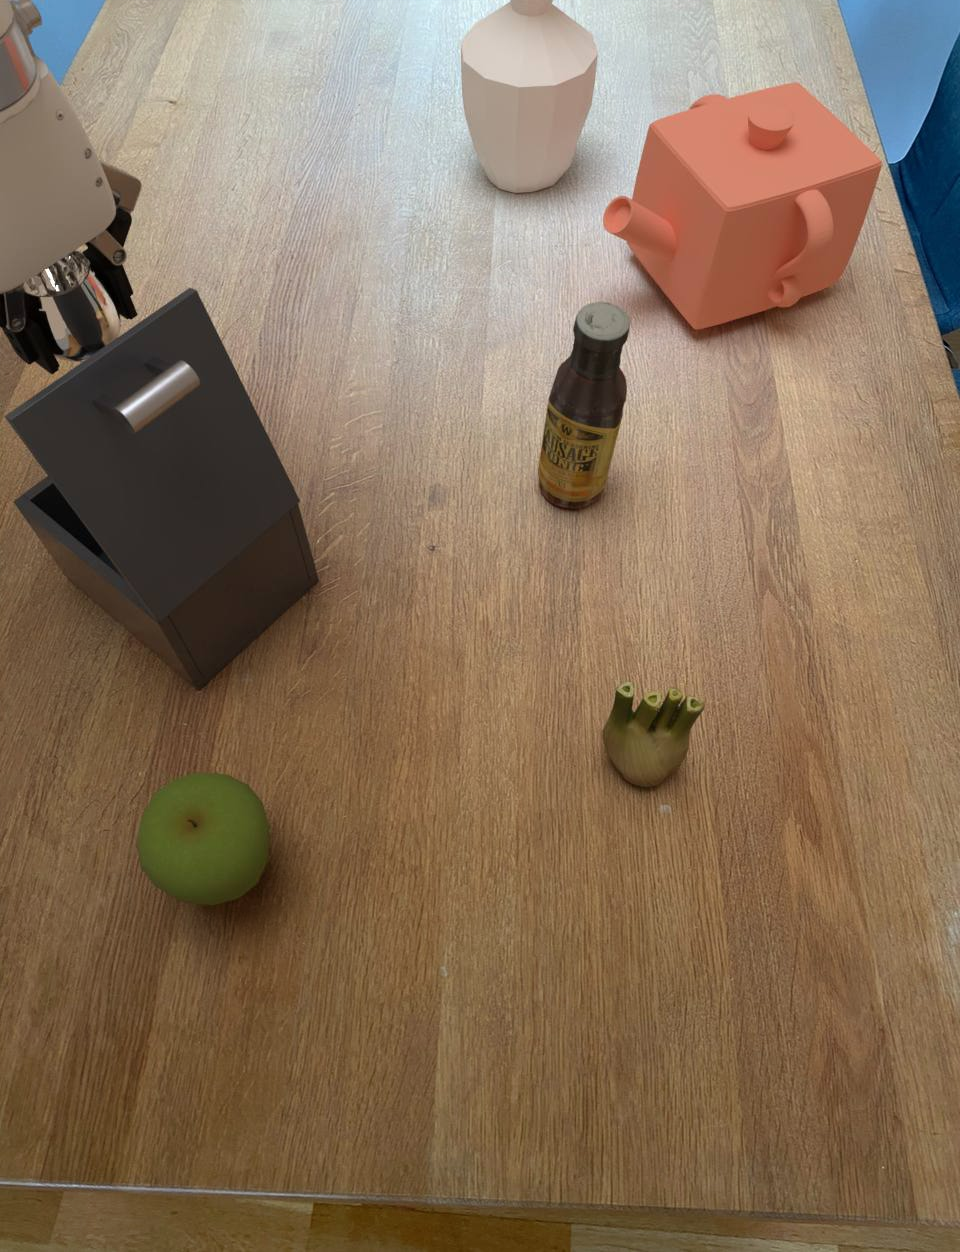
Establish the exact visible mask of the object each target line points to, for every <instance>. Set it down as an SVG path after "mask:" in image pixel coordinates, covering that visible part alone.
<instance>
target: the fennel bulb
mask: <svg viewBox="0 0 960 1252" xmlns="http://www.w3.org/2000/svg"><path fill="white" fill-rule="evenodd" d="M634 696H635V683H633V682H632V681H625V682H622V683H620V684H618V686H617V687H616V689H615V694H614V701H613V703H612V708H611V711H610V713H609V717H608V718H607V720H606V722H605V724H604V727H603V730H602V742H603V743H602V744H603V745H604V747H605V752H606V753H607V755H608V757H609V760H610V761H611V763H612V764H613V765H614V767H615V768H616V770H617V771H618V773H619V774H620V775H621V776H622V777H623V779H624V780H625V781H626V782H628V783H630V784H632V785H634V786H637V787H643V788H652V787H656V786H659V785H660V784H661V783H663V782H664V780H665V779H666V778H667V776H669V775H672V774H673V773H675V772H676V771H677V769H679V768H680V767H681V766H682V764H683V763H684V761H685V759H686V757H687V755H688V751H689V749H690V737H691V730H692V728H693V726H694V724H695V722H696V721H697V719H698V718H699V716H701V714H702V713H703V712H704V710H705V702H704V701H703V700H702V699H701V698H699V697H696V696H694V695H690V694H687V695H686V696H685V698H683V697H684V694H683V692H682V691H681V690H680V689H678V688H676V687H673V686H671V687H669V688H668V691H667V693H666V696H665V698H664V699H663V692H661V691H660V690H659V691H658V690H652V691H650V692H647V693H646V694H644V695H643V696H642V699H641V700H640V702H639V704H638V705H637V708H636V709H635V711H634V710H633V705H634V704H633V703H634ZM662 699H663V701H662ZM682 699H683V700H682Z"/></svg>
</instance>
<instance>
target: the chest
mask: <svg viewBox="0 0 960 1252" xmlns="http://www.w3.org/2000/svg"><path fill="white" fill-rule="evenodd" d="M13 503H14V505H15V506H16V508H17V509H18V510H19V512H20V514H21V515H22V516H23V518H24V519H25V520H26V522H27V524H28V525H29V526H30V528H31V529H32V530H33V533H34V534H35V535H36V537H37V538H38V539H39V540H40V542H41V543H42V545H43V547H44V548H45V549H46V551H47V552H48V553H49V555H50V557H51V558H52V559H53V561H54V562H55V564H56V565H57V567H58V568H59V569H60V571H61V572H62V574H63V575H64V576H65V578H66V579H67V581H69V582H70V583H71V584H72V585H74V586H75V587H76V588H77V589H78V590H79V591H81V592H82V593H83V594H84V595H86V597H88V598H89V599H90V600H91V601H92V602H94V603H95V604H96V605H97V606H98V607H99V608H100V609H102V610H103V611H104V612H105V613H106V614H108V616H110V617H111V618H112V619H113V620H114V621H115V622H117V623H118V624H119V625H120V626H122V627H123V628H124V629H125V630H126V631H127V632H128V633H130V635H132V636H133V637H134V638H136V639H137V640H138V641H139V642H140V643H141V644H142V645H143V646H145V647H146V648H147V649H148V650H149V651H151V652H152V653H153V654H154V655H155V656H156V657H158V658H159V659H160V660H161V661H162V662H163V663H164V664H166V665H167V666H168V667H169V668H170V669H172V671H174V672H175V673H176V674H177V675H179V676H180V677H181V678H182V679H183V680H185V681H186V682H187V683H188V684H189V685H190V686H191V687H193V688H194V689H195V690H196V691H197V692H198V691H200V690H202V688H204V687H205V686H206V685H207V684H208V683H209V682H210V681H211V680H212V679H214V678H215V677H216V675H218V674H219V673H220V672H221V671H222V670H223V669H224V668H226V667H227V665H229V664H230V663H231V662H232V661H233V660H234V659H235V658H236V657H238V655H240V653H242V652H244V650H245V649H246V648H247V647H248V646H249V645H250V644H251V643H252V642H254V641H255V640H256V639H257V638H258V637H259V636H260V635H262V634H263V632H265V631H266V630H267V629H268V628H269V627H270V626H271V625H272V624H273V623H274V622H275V621H277V620H278V619H279V618H280V617H281V616H282V615H283V614H284V613H286V612H287V611H288V610H289V609H290V608H291V607H292V606H293V605H295V603H296V602H297V601H298V600H300V599H301V598H302V597H303V596H305V594H306V593H307V592H308V591H310V590H311V589H312V587H314V586H315V585H316V584H317V583H318V582H320V579H319V576H318V575H319V574H318V571H317V568H316V565H315V561H314V556H313V553H312V549H311V546H310V541H309V538H308V535H307V531H306V527H305V524H304V520H303V516H302V513H301V509H300V504H299V503H297V504H296V505H295V506H294V507H293V508H292V509H291V510H289V511H288V512H287V513H286V514H285V515H284V516H282V517H281V518H280V519H279V520H278V521H277V522H275V523H274V524H273V525H272V526H271V527H270V528H268V529H267V530H266V531H265V532H264V533H263V534H261V535H260V536H259V537H258V538H257V539H256V540H255V541H253V542H252V543H251V544H250V545H249V546H248V547H246V548H245V549H244V550H243V551H242V552H241V553H239V554H238V555H237V556H236V557H235V558H234V559H232V560H231V561H230V562H229V563H228V564H227V565H225V566H224V567H223V568H222V569H221V570H220V571H219V572H217V573H216V574H215V575H214V576H213V577H212V578H210V579H209V580H208V581H207V582H206V583H205V584H203V585H202V586H201V587H200V588H199V589H198V590H196V591H195V592H194V593H193V594H192V595H191V596H189V597H188V598H187V599H186V600H185V601H184V602H183V603H181V604H180V605H179V606H178V607H177V608H176V609H174V610H173V611H172V612H171V613H170V614H169V615H167V616H166V617H165V618H164V619H163V620H162V621H160V622H158V621H157V620H155V619H154V618H153V617H152V615H151V614H150V613H149V611H148V610H147V609H146V607H145V606H144V605H143V603H142V602H141V601H140V599H139V598H138V597H137V595H136V594H135V593H134V591H133V590H132V588H131V587H130V586H129V584H128V583H127V582H126V580H125V579H124V578H123V576H122V575H121V574H120V572H119V571H118V570H117V568H116V567H115V566H114V564H113V563H112V561H111V560H110V559H109V557H108V556H107V555H106V553H105V552H104V551H103V549H102V548H101V547H100V545H99V544H98V543H97V541H96V540H95V539H94V537H93V536H92V534H91V533H90V532H89V530H88V529H87V528H86V526H85V525H84V524H83V522H82V521H81V520H80V518H79V517H78V516H77V514H76V513H75V512H74V510H73V509H72V507H71V506H70V505H69V503H68V502H67V501H66V499H65V498H64V497H63V495H62V494H61V493H60V491H59V490H58V489H57V487H56V486H55V485H54V483H53V482H52V480H51V479H50V478H49V476H48V475H47V476H45V477H44V478H43V479H41V480H40V481H39V482H37V483H36V484H34V485H33V486H32V487H30V488H29V489H27V490H26V491H25V492H24V493H23V494H21V495H20V496H18V497H17V498H16V499H15V500H13Z"/></svg>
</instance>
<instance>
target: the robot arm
mask: <svg viewBox="0 0 960 1252" xmlns="http://www.w3.org/2000/svg"><path fill="white" fill-rule="evenodd" d="M41 25H43V19H42V16H41V13H40V11H39V9H38V7H37V6H36V4H35V3H34V2H33V1H32V0H17V1H16V0H0V328H1V329H2V331H3V333H4V335H5V336H6V338H7V340H8V342H9V344H10V345H11V347H12V349H13V350H14V352H15V354H16V355H17V356H18V358H20V359H21V360H22V361H23V362H24V363H26V364H27V365H29V366H31V365H32V364H34V363H35V364H37V365H38V366H39V367H41V368H42V369H44V370H45V372H47V373H49V374H50V375H54V374H55V373H56V372H59V370H60V369H59V368H60V363H59V361H58V358H57V357H55V356H54V354H53V352H52V350H51V348H50V346H49V344H48V342H47V340H46V338H45V336H44V334H43V332H42V330H41V329H40V327H39V325H38V324H37V323H36V322H35V321H33V320H32V319H31V318H29V317H28V316H26V313H25V303H24V293H23V283H24V282H26V281H27V280H29V279H31V278H32V277H34V276H35V275H37V274H39V273H40V272H42V271H43V270H45V269H47V268H48V267H50V266H51V265H53V264H55V263H56V262H58V261H59V260H61V259H62V258H64V257H66V256H67V255H69V254H70V253H72V252H73V251H75V250H78V249H79V248H81V247H83V246H85V247H86V249H84V250H83V251H81V253H83V254H84V255H85V256H86V257H87V258H88V259H89V260H90V262H91V263H92V264H93V265H94V267H95V268H96V269H97V270H98V272H99V273H100V274H101V276H102V277H103V279H104V280H105V282H106V284H107V285H108V287H109V289H110V290H111V292H112V294H113V296H114V298H115V300H116V303H117V306H118V309H119V313H120V317H122V318H124V319H126V320H133V319H135V318H136V317H137V316H138V312H137V309H136V306H135V304H134V302H133V299H132V296H133V295H134V290H133V287H132V285H131V282H130V279H129V277H128V275H127V273H126V269H125V267H124V263H125V262H126V261H127V257H128V253H127V250H126V249H125V248H124V247H125V244H126V241H127V238H128V235H129V232H130V229H131V226H132V222H133V217H132V214H131V213H132V212H134V210H135V208H136V205H137V202H138V200H139V196H140V194H141V191H142V186H143V183H142V182H141V180H140V179H138V178H137V177H136V176H134V175H133V174H131V173H129V172H128V171H126V170H124V169H121V168H118V167H117V166H114V165H112V164H109V163H107V162H105V161H102V160H100V159H99V157H98V154H97V153H96V151H95V148H94V146H93V144H92V142H91V139H90V138H89V136H88V134H87V132H86V130H85V127H84V126H83V124H82V122H81V120H80V119H79V116H78V115H77V113H76V111H75V109H74V108H73V105H72V104H71V102H70V101H69V99H68V97H67V96H66V94H65V91H64V90H63V89H62V87H61V86H60V84H59V83H58V81H57V79H56V78H55V76H54V74H53V73H52V72H51V70H50V69H49V67H48V65H47V64H46V63H45V61H44V60H43V59H42V58H40V57H39V56H37V55H36V54H35V52H34V49H33V46H32V44H31V41H30V37H29V36H30V35H32V34H33V32H34V31H33V30H34V29H35V28H37V27H40V26H41Z"/></svg>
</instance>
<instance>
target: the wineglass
mask: <svg viewBox="0 0 960 1252" xmlns="http://www.w3.org/2000/svg"><path fill="white" fill-rule="evenodd" d="M23 293H24V303H25V313H26V316H28V317H29V318H31V319H32V320H33V321H35V322H36V323H37V324H38V325H39V327H40V329H41V330H42V332H43V334H44V336H45V338H46V340H47V342H48V344H49V346H50V348H51V350H52V352H53V354H54V356H55V357H56V359H59V360H63V361H66V362H72V363H73V362H74V363H82V362H83V361H85V360H86V359H88V358H89V357H91V356H92V355H93V354H95V353H96V352H98V351H99V350H101V349H102V348H103V347H105V346H106V345H108V344H109V343H111V342H112V341H114V340H115V339H116V338H118V337H119V336H120V332H121V327H122V323H121V321H122V319H121V315H120V313H119V309H118V306H117V303H116V300H115V298H114V296H113V294H112V292H111V290H110V289H109V287H108V285H107V284H106V282H105V280H104V279H103V277H102V276H101V274H100V273H99V272H98V270H97V269H96V268H95V267H94V265H93V264H92V263H91V262H90V260H89V259H88V258H87V257H86V256H85V255H84V254H83V253H82V251H80V250H78V249H76V250H75V251H73V252H72V253H70V254H69V255H67V256H66V257H64V258H62V259H61V260H59V261H58V262H56V263H55V264H53V265H51V266H50V267H48V268H47V269H45V270H43V271H42V272H40V273H39V274H37V275H35V276H34V277H32V278H31V279H29V280H27V281H26V282H24V283H23Z"/></svg>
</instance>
